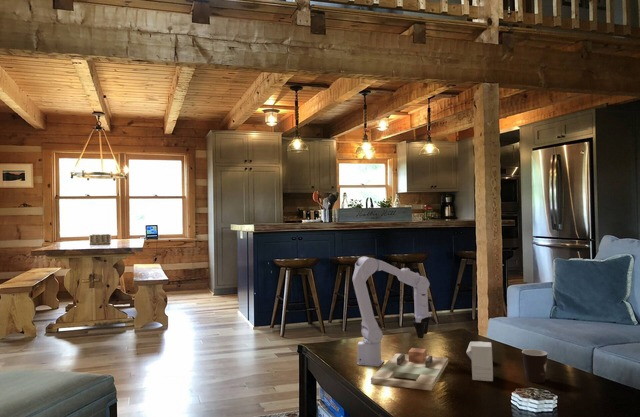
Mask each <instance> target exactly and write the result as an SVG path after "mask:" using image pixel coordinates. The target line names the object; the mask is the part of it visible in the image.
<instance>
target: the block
mask: <svg viewBox="0 0 640 417" xmlns="http://www.w3.org/2000/svg"><path fill="white" fill-rule="evenodd" d="M407 352H408V353H407V354H409V361H410V362H420V363H424V362H425V360H426V359H427V357H426V356H427V348H418V347H417V348H416V347H411V348H410V349H409V350H408V351H407Z"/></svg>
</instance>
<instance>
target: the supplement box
mask: <svg viewBox="0 0 640 417" xmlns="http://www.w3.org/2000/svg"><path fill="white" fill-rule="evenodd" d="M471 342H472V344H471V356H472V360H471V374H472V375H471V376H472V377H471V378H472V381H482V382H485V381H486V382H494V366H493V346H492V342H491V341H490V342H489V341H482V342H478V341H471Z"/></svg>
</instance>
